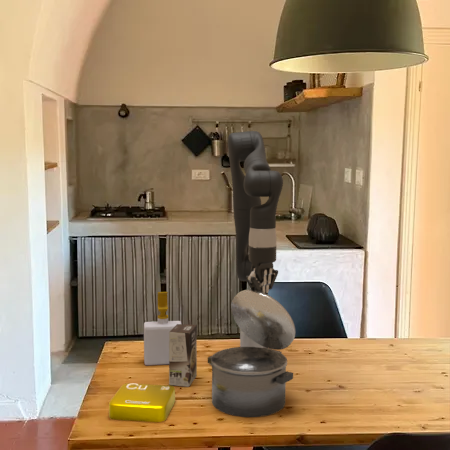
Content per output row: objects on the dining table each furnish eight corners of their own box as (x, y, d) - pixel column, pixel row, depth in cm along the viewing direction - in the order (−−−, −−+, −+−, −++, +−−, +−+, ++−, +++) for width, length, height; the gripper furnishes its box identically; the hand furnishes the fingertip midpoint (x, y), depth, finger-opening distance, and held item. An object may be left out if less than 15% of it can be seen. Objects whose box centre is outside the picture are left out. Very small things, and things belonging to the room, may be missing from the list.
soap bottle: (144, 366, 192) (143, 294, 189) (144, 359, 198) (143, 289, 196) (182, 364, 194) (182, 292, 191) (181, 357, 200) (181, 288, 198)
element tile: (106, 420, 154) (106, 402, 153) (123, 397, 169) (123, 380, 168) (164, 424, 152) (164, 406, 151) (176, 400, 167) (176, 383, 166)
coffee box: (189, 387, 175) (189, 333, 173) (168, 385, 176) (168, 331, 174) (197, 375, 184) (197, 324, 182) (177, 374, 185) (177, 322, 183)
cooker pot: (237, 378, 182) (237, 339, 181) (309, 399, 167) (310, 357, 165) (189, 401, 165) (189, 358, 164) (264, 427, 150) (265, 380, 148)
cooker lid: (241, 341, 178) (246, 335, 180) (300, 356, 166) (305, 349, 167) (223, 287, 169) (228, 281, 171) (283, 298, 157) (289, 292, 158)
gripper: (264, 240, 172) (264, 299, 174) (237, 245, 162) (236, 308, 164) (287, 242, 167) (286, 303, 170) (260, 248, 157) (259, 313, 159)
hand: (261, 306), depth 167 cm, fingers closed
